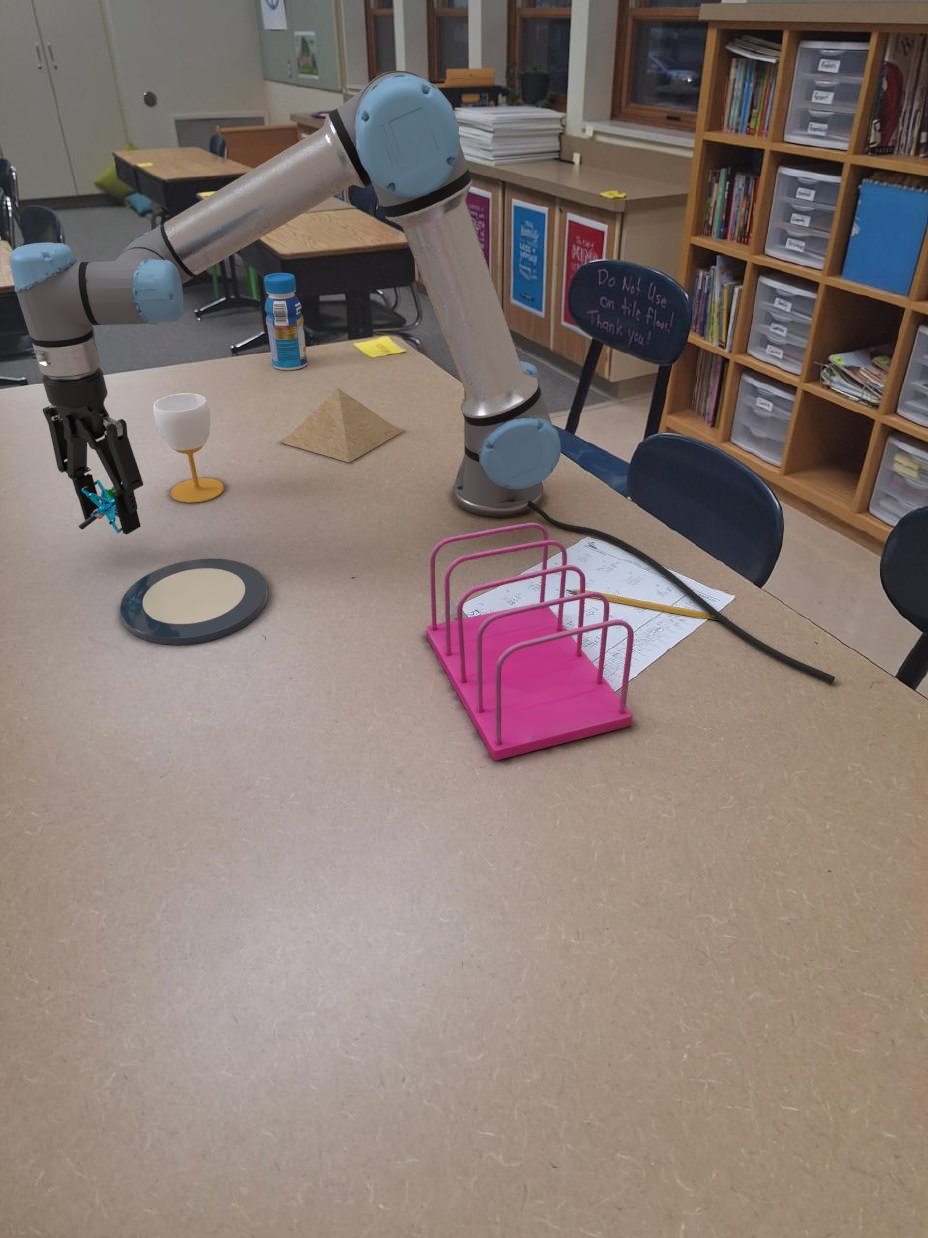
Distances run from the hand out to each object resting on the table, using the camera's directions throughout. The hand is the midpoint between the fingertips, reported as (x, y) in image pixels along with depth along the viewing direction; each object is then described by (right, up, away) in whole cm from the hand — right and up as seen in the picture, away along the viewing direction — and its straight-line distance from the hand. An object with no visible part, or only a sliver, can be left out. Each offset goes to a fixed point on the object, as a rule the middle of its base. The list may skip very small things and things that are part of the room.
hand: (112, 523), depth 127 cm
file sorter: (+59, -22, -19) cm, 66 cm away
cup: (+5, +8, +23) cm, 25 cm away
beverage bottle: (+11, +45, +75) cm, 88 cm away
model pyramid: (+28, +21, +41) cm, 54 cm away
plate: (+14, -12, -5) cm, 19 cm away
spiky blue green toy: (-1, 0, +1) cm, 1 cm away
